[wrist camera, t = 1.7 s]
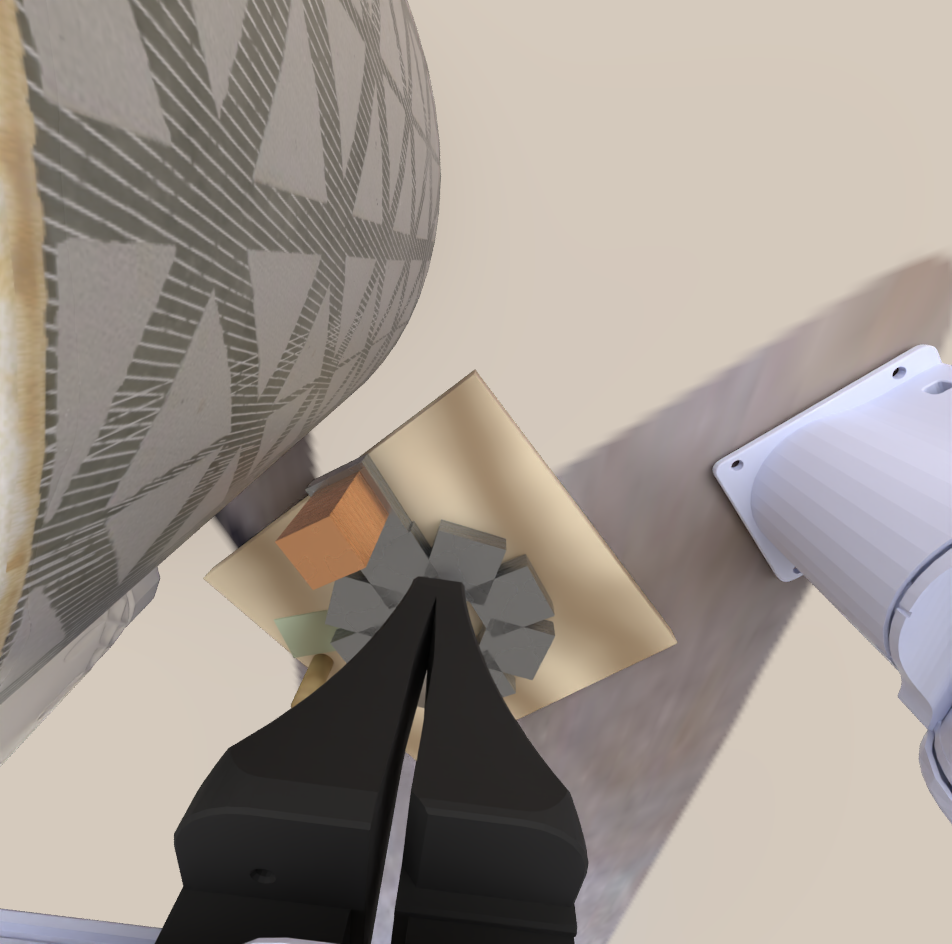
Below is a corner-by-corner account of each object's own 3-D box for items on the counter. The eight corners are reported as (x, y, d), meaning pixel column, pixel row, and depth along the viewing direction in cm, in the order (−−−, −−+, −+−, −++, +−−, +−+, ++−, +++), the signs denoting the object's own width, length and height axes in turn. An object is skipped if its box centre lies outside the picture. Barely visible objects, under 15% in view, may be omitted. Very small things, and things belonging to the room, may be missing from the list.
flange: (582, 655, 25) (601, 743, 20) (404, 715, 27) (386, 804, 23) (448, 413, 20) (433, 457, 15) (244, 514, 22) (178, 578, 18)
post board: (475, 369, 20) (466, 407, 15) (671, 629, 26) (718, 728, 20) (213, 567, 25) (135, 650, 20) (423, 750, 31) (407, 855, 25)
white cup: (200, 595, 26) (42, 771, 17) (93, 632, 28) (-104, 812, 19) (107, 477, 23) (-143, 612, 14) (-6, 525, 25) (-297, 676, 16)
